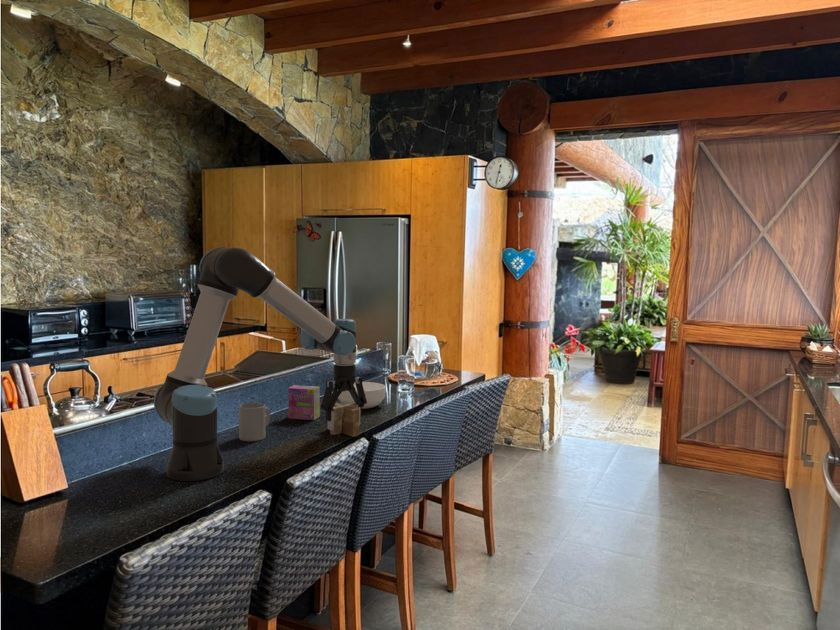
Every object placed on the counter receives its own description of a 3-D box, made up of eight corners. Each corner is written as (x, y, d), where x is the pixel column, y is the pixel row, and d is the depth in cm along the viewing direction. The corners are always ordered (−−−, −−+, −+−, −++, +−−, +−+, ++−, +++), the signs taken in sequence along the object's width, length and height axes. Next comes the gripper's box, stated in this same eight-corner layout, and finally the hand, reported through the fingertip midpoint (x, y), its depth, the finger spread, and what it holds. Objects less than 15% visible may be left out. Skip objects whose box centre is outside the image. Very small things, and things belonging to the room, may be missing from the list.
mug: (252, 443, 207) (251, 409, 206) (233, 438, 211) (233, 405, 210) (278, 434, 217) (278, 402, 216) (260, 430, 221) (260, 399, 220)
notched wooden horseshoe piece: (334, 434, 218) (334, 408, 217) (330, 433, 220) (330, 407, 219) (357, 429, 225) (358, 404, 224) (353, 428, 226) (353, 403, 226)
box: (288, 418, 239) (288, 387, 238) (294, 415, 244) (294, 384, 243) (314, 420, 236) (314, 389, 235) (320, 417, 242) (320, 386, 241)
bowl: (366, 414, 247) (366, 393, 246) (326, 407, 257) (326, 387, 256) (394, 405, 264) (394, 385, 263) (356, 399, 274) (356, 379, 273)
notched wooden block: (353, 436, 216) (353, 410, 215) (329, 428, 226) (329, 403, 226) (359, 435, 218) (359, 409, 217) (335, 427, 228) (335, 402, 227)
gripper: (322, 368, 210) (322, 435, 211) (377, 362, 225) (376, 424, 227) (310, 365, 215) (309, 430, 217) (364, 359, 230) (364, 419, 232)
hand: (344, 427), depth 222 cm, fingers open, 10 cm apart
